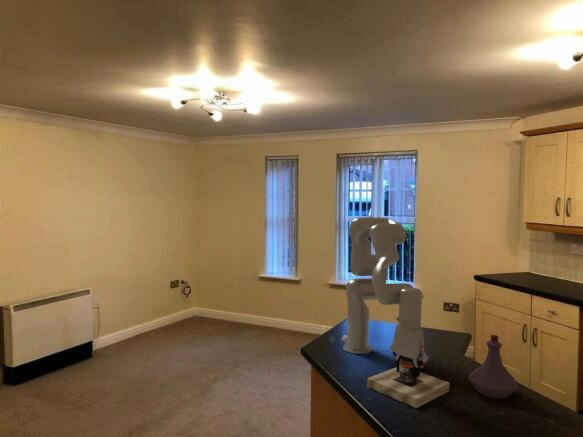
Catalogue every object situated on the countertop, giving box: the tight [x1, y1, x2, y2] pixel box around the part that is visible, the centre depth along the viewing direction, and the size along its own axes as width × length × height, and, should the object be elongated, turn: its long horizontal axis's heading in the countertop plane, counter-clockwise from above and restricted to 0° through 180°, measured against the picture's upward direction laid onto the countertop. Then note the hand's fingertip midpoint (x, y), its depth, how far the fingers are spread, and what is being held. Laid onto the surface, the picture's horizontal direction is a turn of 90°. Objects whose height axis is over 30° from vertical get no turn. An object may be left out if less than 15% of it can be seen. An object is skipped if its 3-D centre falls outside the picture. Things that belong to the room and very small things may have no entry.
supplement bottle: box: [399, 356, 417, 387], centre depth 149 cm, size 6×6×11 cm
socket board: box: [366, 367, 450, 409], centre depth 150 cm, size 20×20×3 cm
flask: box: [467, 334, 519, 400], centre depth 147 cm, size 16×16×20 cm
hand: (407, 373), depth 150 cm, fingers closed on supplement bottle, 6 cm apart
